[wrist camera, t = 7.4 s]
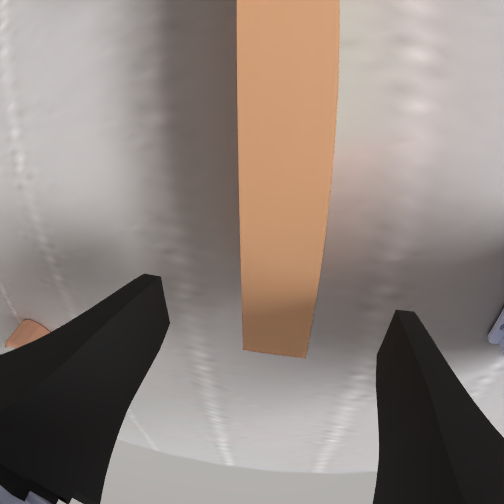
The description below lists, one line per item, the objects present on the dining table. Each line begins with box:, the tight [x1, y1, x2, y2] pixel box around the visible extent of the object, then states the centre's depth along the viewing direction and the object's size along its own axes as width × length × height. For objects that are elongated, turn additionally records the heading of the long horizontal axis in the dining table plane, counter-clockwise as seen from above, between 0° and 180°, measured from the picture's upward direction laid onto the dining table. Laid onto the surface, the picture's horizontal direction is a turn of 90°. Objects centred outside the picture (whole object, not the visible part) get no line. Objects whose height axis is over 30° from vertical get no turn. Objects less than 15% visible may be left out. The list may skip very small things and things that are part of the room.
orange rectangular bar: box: [237, 0, 340, 358], centre depth 9 cm, size 16×2×5 cm, turn 0°
